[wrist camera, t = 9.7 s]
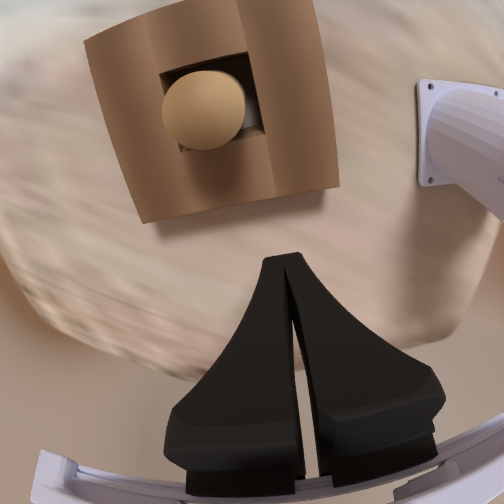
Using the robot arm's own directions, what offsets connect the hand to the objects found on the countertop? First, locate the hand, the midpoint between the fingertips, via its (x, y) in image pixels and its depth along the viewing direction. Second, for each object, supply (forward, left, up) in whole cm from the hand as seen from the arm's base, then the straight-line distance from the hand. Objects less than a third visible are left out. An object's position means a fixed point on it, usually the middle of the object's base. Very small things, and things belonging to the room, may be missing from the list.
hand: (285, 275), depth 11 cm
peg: (+2, -6, -10) cm, 12 cm away
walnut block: (+2, -6, -10) cm, 12 cm away
